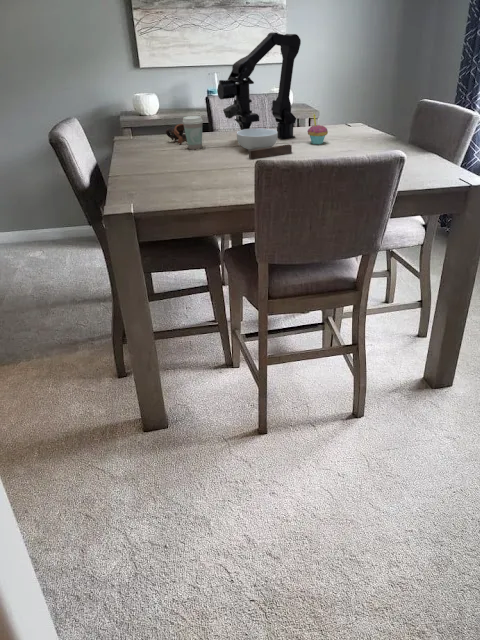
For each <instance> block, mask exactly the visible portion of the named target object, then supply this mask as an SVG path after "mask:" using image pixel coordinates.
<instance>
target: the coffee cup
mask: <svg viewBox="0 0 480 640" xmlns="http://www.w3.org/2000/svg"><path fill="white" fill-rule="evenodd" d="M203 123H204V120H203V118H202V115H201V116H200V115H188V116H184V117H183V118H182V124H184V129H185V130H184V134H186V139H187V140H186V143H187V148H188V150H200V149H202V148H203Z"/></svg>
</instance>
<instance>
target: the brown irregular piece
mask: <svg viewBox="0 0 480 640" xmlns="http://www.w3.org/2000/svg"><path fill="white" fill-rule="evenodd" d="M184 132H185V129H184V124H183V123H179V124H176V125H175V126H174V128H173V127H167V128H166V129H165V134H166V136H167V137H168V138H169V139H171V141H174V142H176V141H177V143H178V144H179V145H182V144H183V143H184V142H187V139H186V134H185V133H184Z"/></svg>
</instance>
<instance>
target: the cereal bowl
mask: <svg viewBox="0 0 480 640" xmlns="http://www.w3.org/2000/svg"><path fill="white" fill-rule="evenodd" d="M236 140H237V143H238V145H239V146H241V148H244V149H245V150H247V152H249V150H253V149H260V148H267V147H274V146H276V144H277V141H278V132H277V129H273V128H264V127H263V128H262V127H260V128H259V127H254V128H251V127H250V128H249V129H243V130H241V129H240V130H238V131H236Z"/></svg>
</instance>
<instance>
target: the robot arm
mask: <svg viewBox="0 0 480 640" xmlns="http://www.w3.org/2000/svg"><path fill="white" fill-rule="evenodd" d="M301 42H302V41H301V38H300V36H299V35H298V34H297V33H284V34H283V33H279V32H273V31H272V32H269V33H268V34H267V35H266V36H265V37H264V39H262V41H261V42H259V43H258V44H257V45H256V46H255V48H254V49H253V50H251V52H249V53H248V54H247V55H246V56H244V57H241V58H240V59H238V60H237V61H235V62H234V63H233V64H232V66H231V72H230V73H229V75H228V77H227V79H225V80H224V79H220V80H218V85H217V89H216V90H217V91H216V93H217V96H218V99H219V100H230V99H234V98H235V99H234V100H233V104H231V105H229V106H227V107H225V108H223V109H222V111H223V114H224V116H225V118H227V119H233V117H235V118H234V121H235V122H236V123H237V124H238V125H239V129H240V130H243V129H251V126H252V124H253V123H255V122H257V123H258V122H260V115H259V114H258V113H255V112H253V110H252V109H251V103H252V102H253V101H252V99H251V96H250V95H251V94H250V85H254V84H255V81H253V80H252V79H251V77H250V76H251V75H252V74H253V72H254V70H255V69H256V66H257V64H259V62H260V61H261V60H263V58H264V57H266V55H267V54H269V53H270V51H271V50H272V49H273V48H274V47H275V46H279V47H280V53H281V54H280V55H281V57H282V60H281V70H280V78H279V85H278V94H277V97H276V99H275V100H274V99H273V100H272V104H271V109H270V111H271V114H272V116H273V118H274V120H275V122H276V123H277V126H276V131H277V132H278V137H277V139H281V140H286V139H295V138H296V136H295V135H294V124H296V121H297V117H296V116H295V115H294V114H293V113H292V104H291V99H290V95H291V85H292V78H293V73H294V63H295V59H296V58H297V56H298V54H299V51H300V48H301V44H302V43H301Z"/></svg>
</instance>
